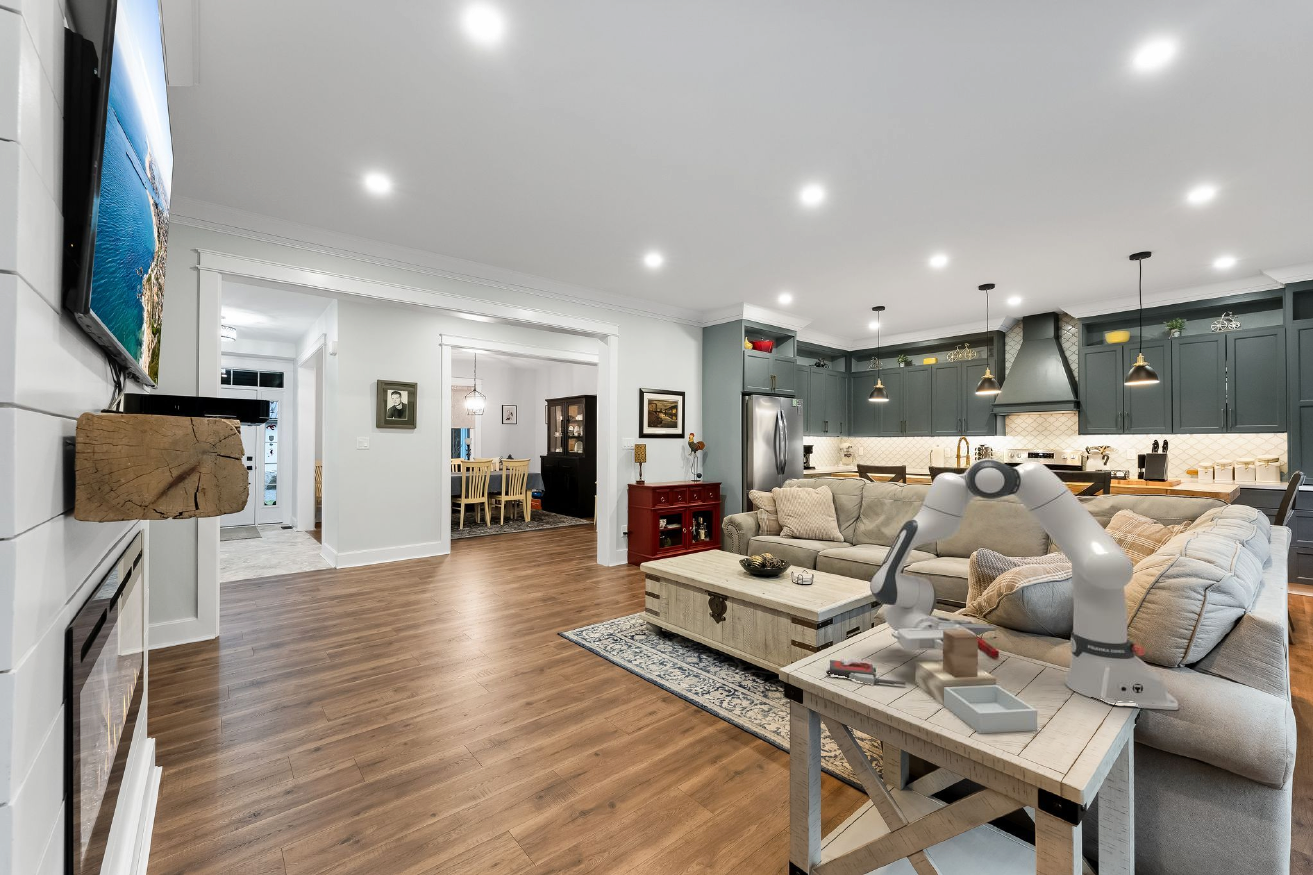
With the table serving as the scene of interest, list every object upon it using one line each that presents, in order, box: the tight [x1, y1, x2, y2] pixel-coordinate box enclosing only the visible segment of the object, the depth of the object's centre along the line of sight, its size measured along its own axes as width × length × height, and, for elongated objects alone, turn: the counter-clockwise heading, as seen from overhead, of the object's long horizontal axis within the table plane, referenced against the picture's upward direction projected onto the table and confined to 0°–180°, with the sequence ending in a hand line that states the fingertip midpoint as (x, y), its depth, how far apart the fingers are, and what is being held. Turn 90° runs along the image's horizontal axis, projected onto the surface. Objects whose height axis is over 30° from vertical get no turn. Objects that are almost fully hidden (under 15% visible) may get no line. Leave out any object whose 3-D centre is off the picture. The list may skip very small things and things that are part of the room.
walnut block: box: [942, 630, 979, 678], centre depth 145 cm, size 5×6×10 cm
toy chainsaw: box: [825, 658, 907, 686], centre depth 155 cm, size 9×4×20 cm
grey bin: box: [943, 684, 1038, 734], centre depth 134 cm, size 13×14×4 cm
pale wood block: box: [914, 659, 997, 706], centre depth 147 cm, size 12×14×6 cm
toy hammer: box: [931, 614, 1000, 659], centre depth 184 cm, size 24×4×30 cm
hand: (954, 649), depth 147 cm, fingers closed
